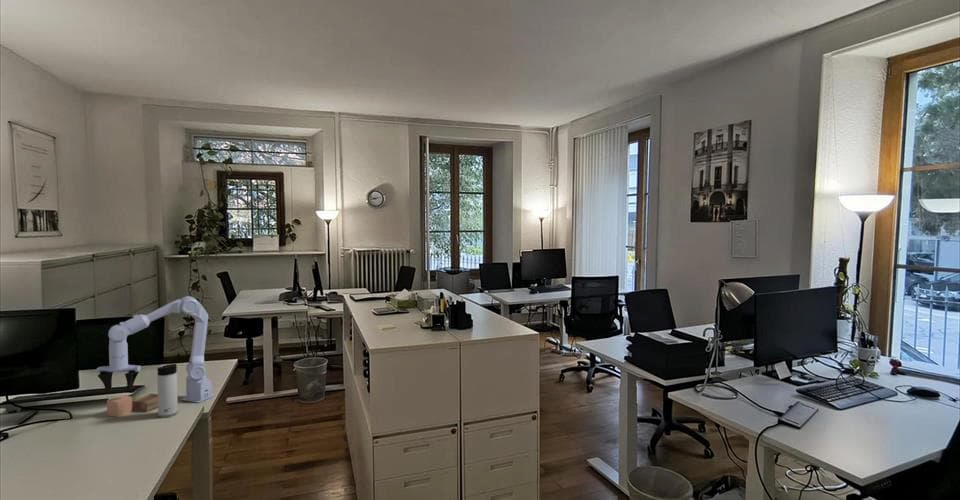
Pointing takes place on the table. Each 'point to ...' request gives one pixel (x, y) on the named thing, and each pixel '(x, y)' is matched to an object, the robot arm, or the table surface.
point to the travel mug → (167, 391)
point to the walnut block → (145, 403)
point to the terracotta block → (119, 406)
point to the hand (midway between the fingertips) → (119, 389)
